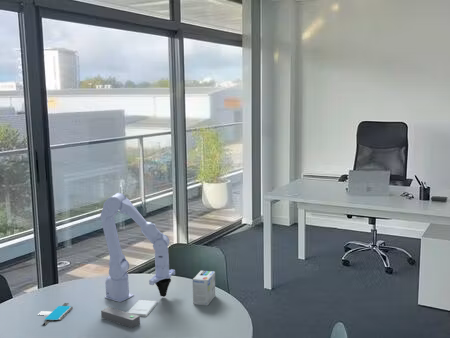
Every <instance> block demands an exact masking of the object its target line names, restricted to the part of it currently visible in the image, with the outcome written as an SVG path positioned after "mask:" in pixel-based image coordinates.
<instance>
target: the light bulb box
mask: <svg viewBox="0 0 450 338" xmlns="http://www.w3.org/2000/svg"><path fill="white" fill-rule="evenodd" d="M215 296H216V271H214V270H213V271H212V270H211V271H210V270H209V271H208V270H199V272H198V273H197V274H196V275H195V276H194V277H193V278H192V303H193V305H200V306H209V304H211V302H212V301H213V299H214V298H215Z"/></svg>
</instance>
